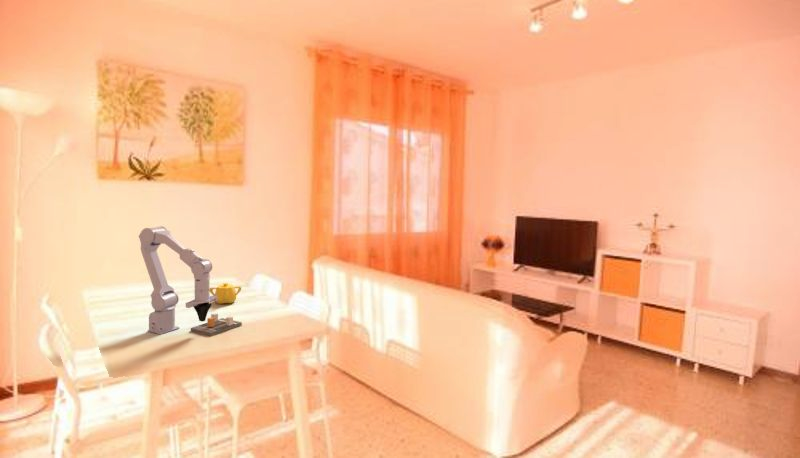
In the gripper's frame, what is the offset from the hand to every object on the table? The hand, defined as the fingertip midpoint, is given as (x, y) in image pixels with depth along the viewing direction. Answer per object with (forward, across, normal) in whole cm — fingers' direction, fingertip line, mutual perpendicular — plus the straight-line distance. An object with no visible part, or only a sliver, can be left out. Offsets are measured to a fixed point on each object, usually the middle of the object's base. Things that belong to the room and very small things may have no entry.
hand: (202, 320), depth 185 cm
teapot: (+6, +40, +30) cm, 50 cm away
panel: (+5, +8, 0) cm, 9 cm away
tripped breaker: (+4, +5, 0) cm, 6 cm away
